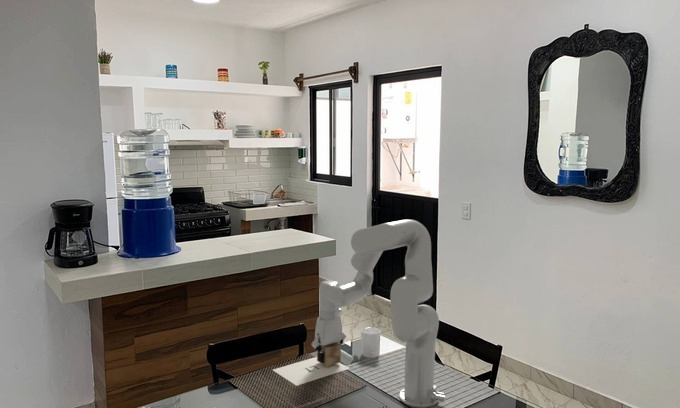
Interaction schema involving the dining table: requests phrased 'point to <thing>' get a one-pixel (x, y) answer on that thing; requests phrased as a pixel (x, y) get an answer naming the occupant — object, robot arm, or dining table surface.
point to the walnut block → (331, 354)
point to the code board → (308, 371)
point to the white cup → (370, 342)
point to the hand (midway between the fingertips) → (328, 359)
